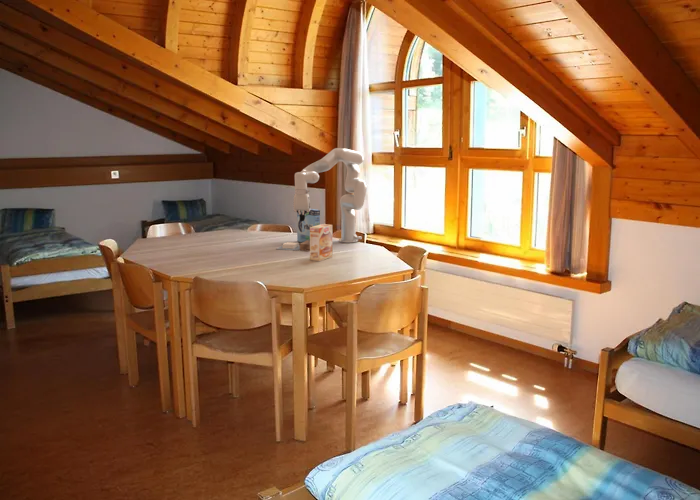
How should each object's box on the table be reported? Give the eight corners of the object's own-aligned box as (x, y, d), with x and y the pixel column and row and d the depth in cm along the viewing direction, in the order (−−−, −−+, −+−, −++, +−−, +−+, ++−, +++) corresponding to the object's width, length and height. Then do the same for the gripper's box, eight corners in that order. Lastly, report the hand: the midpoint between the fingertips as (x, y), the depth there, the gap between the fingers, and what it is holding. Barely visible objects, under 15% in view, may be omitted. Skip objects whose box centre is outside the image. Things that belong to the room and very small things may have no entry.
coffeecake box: (319, 261, 390) (319, 227, 387) (309, 260, 394) (309, 226, 390) (333, 257, 403) (332, 224, 400) (322, 255, 407) (322, 223, 403)
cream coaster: (286, 242, 438) (286, 245, 438) (282, 244, 430) (282, 248, 431) (298, 242, 436) (298, 246, 436) (294, 244, 428) (294, 248, 429)
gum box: (297, 241, 457) (296, 207, 453) (303, 240, 460) (302, 207, 456) (314, 245, 442) (313, 210, 438) (320, 244, 445) (320, 209, 441)
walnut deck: (320, 247, 436) (320, 240, 435) (313, 250, 422) (313, 244, 422) (306, 246, 438) (306, 240, 437) (299, 250, 425) (299, 243, 424)
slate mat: (306, 246, 439) (306, 245, 439) (298, 250, 424) (298, 250, 424) (284, 245, 443) (284, 244, 443) (275, 249, 428) (275, 248, 428)
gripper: (314, 191, 427) (315, 220, 431) (291, 191, 431) (293, 219, 434) (310, 192, 420) (311, 222, 423) (287, 192, 424) (289, 221, 427)
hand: (302, 220), depth 429 cm, fingers closed
